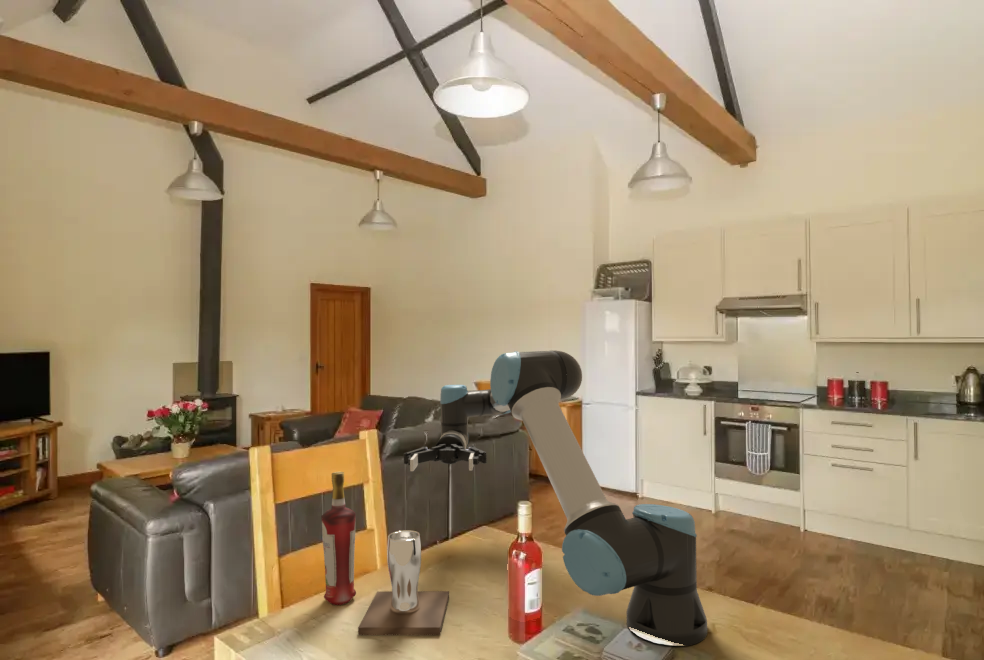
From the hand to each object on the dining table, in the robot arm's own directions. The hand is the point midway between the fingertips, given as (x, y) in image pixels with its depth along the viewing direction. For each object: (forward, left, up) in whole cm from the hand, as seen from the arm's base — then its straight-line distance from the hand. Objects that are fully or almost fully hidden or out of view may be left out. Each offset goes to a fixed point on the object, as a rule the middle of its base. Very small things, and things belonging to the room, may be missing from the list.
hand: (441, 465), depth 136 cm
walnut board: (+6, +14, -28) cm, 32 cm away
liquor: (+22, +7, -28) cm, 36 cm away
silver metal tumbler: (+6, +14, -27) cm, 31 cm away
